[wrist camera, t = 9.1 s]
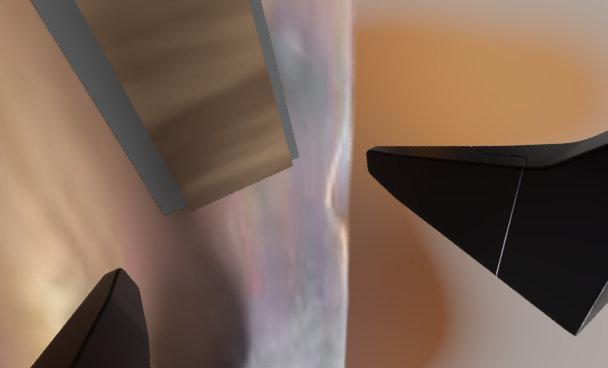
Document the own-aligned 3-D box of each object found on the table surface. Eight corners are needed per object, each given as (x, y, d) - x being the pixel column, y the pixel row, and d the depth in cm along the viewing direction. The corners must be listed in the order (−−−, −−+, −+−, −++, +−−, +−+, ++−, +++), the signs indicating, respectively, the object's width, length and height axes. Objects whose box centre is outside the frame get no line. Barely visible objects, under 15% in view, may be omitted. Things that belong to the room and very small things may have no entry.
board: (292, 165, 19) (231, -65, 12) (191, 211, 16) (52, -39, 10) (273, 150, 21) (214, -43, 15) (184, 187, 19) (72, -20, 13)
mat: (296, 155, 23) (298, 156, 23) (164, 213, 20) (164, 215, 19) (237, -84, 15) (239, -86, 15) (-3, -56, 12) (-7, -59, 11)
